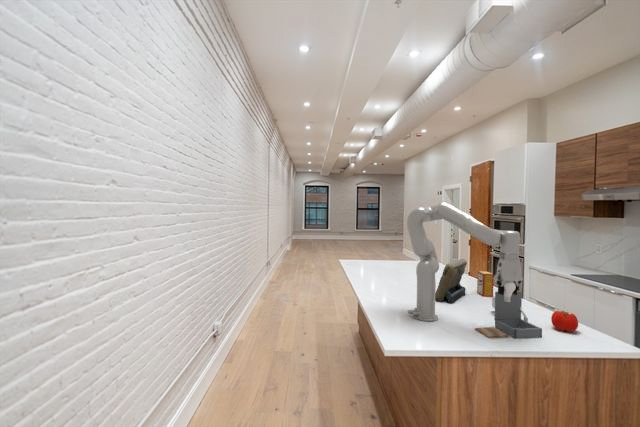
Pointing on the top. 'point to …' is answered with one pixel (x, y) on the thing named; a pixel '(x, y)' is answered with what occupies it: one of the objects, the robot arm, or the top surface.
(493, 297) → the security camera
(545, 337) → the top surface
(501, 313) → the equipment case
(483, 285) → the baking soda box
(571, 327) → the tomato
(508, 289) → the lightbulb
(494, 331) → the walnut board
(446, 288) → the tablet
